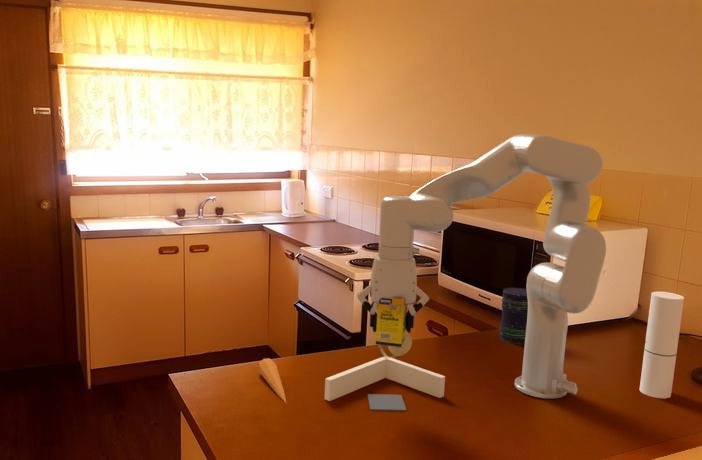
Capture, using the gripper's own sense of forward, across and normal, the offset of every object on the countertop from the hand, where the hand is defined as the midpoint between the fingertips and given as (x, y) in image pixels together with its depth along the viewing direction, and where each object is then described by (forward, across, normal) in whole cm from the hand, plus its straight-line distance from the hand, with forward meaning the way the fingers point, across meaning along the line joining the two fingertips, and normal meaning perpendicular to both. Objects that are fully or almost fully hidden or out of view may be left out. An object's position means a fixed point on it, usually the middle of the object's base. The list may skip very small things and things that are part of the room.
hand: (391, 329), depth 144 cm
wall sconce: (+18, -3, -28) cm, 33 cm away
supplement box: (+3, 0, 0) cm, 3 cm away
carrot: (+18, +26, -8) cm, 33 cm away
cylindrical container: (+18, -68, -9) cm, 71 cm away
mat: (+17, 0, 0) cm, 17 cm away
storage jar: (+18, -45, -48) cm, 68 cm away
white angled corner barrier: (+17, 0, -3) cm, 18 cm away
